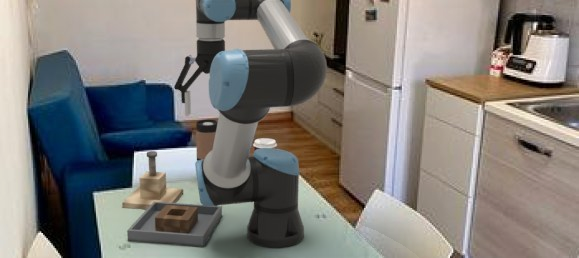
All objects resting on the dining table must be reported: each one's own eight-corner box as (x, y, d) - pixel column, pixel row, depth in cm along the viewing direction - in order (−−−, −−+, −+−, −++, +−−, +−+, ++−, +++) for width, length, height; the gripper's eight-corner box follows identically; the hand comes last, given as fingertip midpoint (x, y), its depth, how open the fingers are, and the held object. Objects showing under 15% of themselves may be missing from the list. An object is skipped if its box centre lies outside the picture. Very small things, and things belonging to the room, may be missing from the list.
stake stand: (183, 193, 197) (181, 147, 193) (168, 210, 184) (167, 161, 180) (139, 190, 199) (137, 144, 195) (122, 207, 185) (119, 158, 182)
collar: (197, 220, 176) (197, 207, 175) (188, 234, 167) (188, 220, 166) (166, 218, 177) (166, 204, 176) (155, 231, 169) (154, 217, 167)
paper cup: (273, 186, 204) (274, 145, 200) (250, 184, 205) (250, 143, 202) (278, 178, 211) (279, 138, 208) (256, 176, 213) (256, 136, 209)
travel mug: (194, 184, 205) (192, 124, 200) (201, 176, 212) (200, 118, 207) (217, 186, 204) (216, 126, 198) (223, 178, 211) (222, 120, 206)
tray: (222, 216, 181) (221, 206, 180) (203, 247, 162) (202, 236, 161) (154, 211, 183) (153, 201, 182) (127, 241, 164) (127, 230, 163)
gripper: (259, 38, 172) (259, 114, 177) (170, 35, 175) (172, 110, 180) (254, 42, 164) (253, 121, 170) (161, 38, 168) (163, 116, 173)
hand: (211, 116), depth 175 cm, fingers open, 13 cm apart
